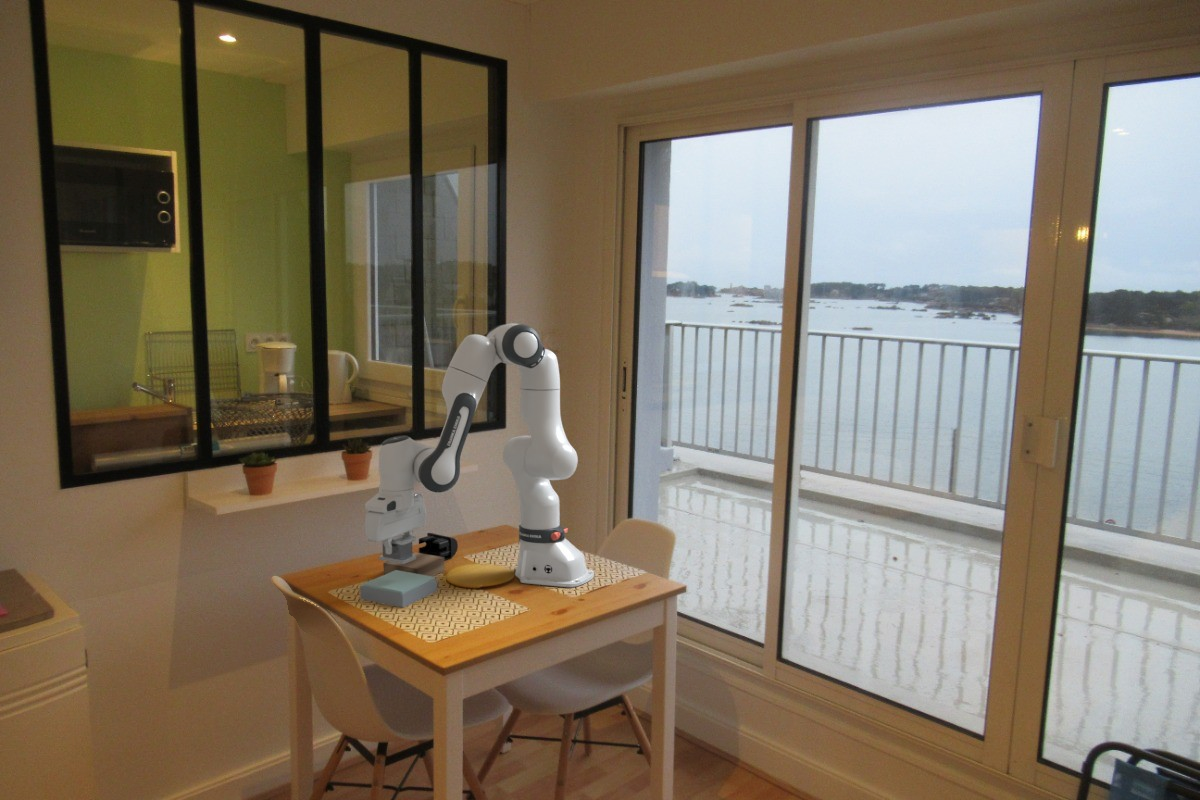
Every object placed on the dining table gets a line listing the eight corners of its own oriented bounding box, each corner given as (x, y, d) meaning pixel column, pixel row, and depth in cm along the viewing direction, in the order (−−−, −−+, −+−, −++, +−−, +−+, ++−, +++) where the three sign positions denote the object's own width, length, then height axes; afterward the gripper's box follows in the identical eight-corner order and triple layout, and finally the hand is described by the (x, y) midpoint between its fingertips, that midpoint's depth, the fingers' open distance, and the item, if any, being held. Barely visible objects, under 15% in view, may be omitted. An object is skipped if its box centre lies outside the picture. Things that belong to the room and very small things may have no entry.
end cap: (458, 557, 257) (458, 535, 256) (441, 563, 251) (441, 541, 250) (435, 552, 262) (434, 530, 262) (417, 557, 256) (417, 535, 256)
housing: (416, 558, 222) (415, 536, 222) (403, 564, 218) (402, 541, 217) (392, 554, 226) (391, 532, 225) (379, 559, 221) (378, 537, 221)
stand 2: (437, 591, 226) (437, 576, 225) (402, 607, 213) (402, 592, 213) (396, 583, 232) (395, 569, 232) (360, 599, 220) (359, 584, 219)
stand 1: (444, 570, 243) (444, 557, 243) (417, 582, 233) (417, 568, 232) (411, 565, 249) (411, 551, 248) (383, 576, 238) (383, 562, 237)
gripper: (413, 490, 231) (413, 539, 232) (360, 505, 212) (361, 558, 214) (431, 492, 228) (432, 542, 229) (379, 507, 210) (380, 562, 211)
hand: (397, 550), depth 221 cm, fingers closed on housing, 5 cm apart
